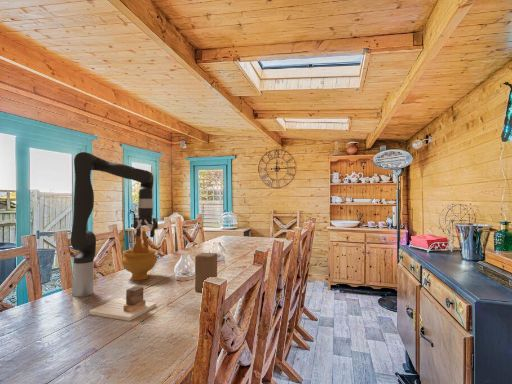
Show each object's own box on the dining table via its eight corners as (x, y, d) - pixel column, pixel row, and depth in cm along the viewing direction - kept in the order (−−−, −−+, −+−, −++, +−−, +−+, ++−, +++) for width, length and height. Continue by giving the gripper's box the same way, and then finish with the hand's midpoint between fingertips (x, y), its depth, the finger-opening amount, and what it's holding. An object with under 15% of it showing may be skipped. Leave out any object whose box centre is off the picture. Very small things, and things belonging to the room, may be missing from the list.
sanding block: (123, 311, 135) (123, 290, 135) (137, 304, 144) (137, 285, 144) (132, 312, 134) (132, 291, 134) (145, 305, 143) (145, 286, 143)
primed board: (89, 314, 136) (89, 310, 136) (118, 300, 153) (118, 297, 153) (129, 320, 129) (129, 317, 129) (156, 306, 146) (156, 302, 146)
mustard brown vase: (138, 272, 209) (138, 228, 210) (163, 275, 202) (164, 229, 202) (114, 280, 190) (114, 231, 190) (140, 283, 182) (141, 233, 182)
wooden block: (211, 293, 165) (211, 256, 165) (194, 292, 167) (194, 255, 167) (217, 287, 175) (217, 252, 175) (201, 286, 177) (201, 252, 177)
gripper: (130, 207, 166) (129, 237, 166) (152, 207, 162) (152, 238, 161) (139, 206, 173) (139, 235, 173) (160, 207, 169) (160, 236, 169)
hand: (145, 236), depth 167 cm, fingers open, 8 cm apart
